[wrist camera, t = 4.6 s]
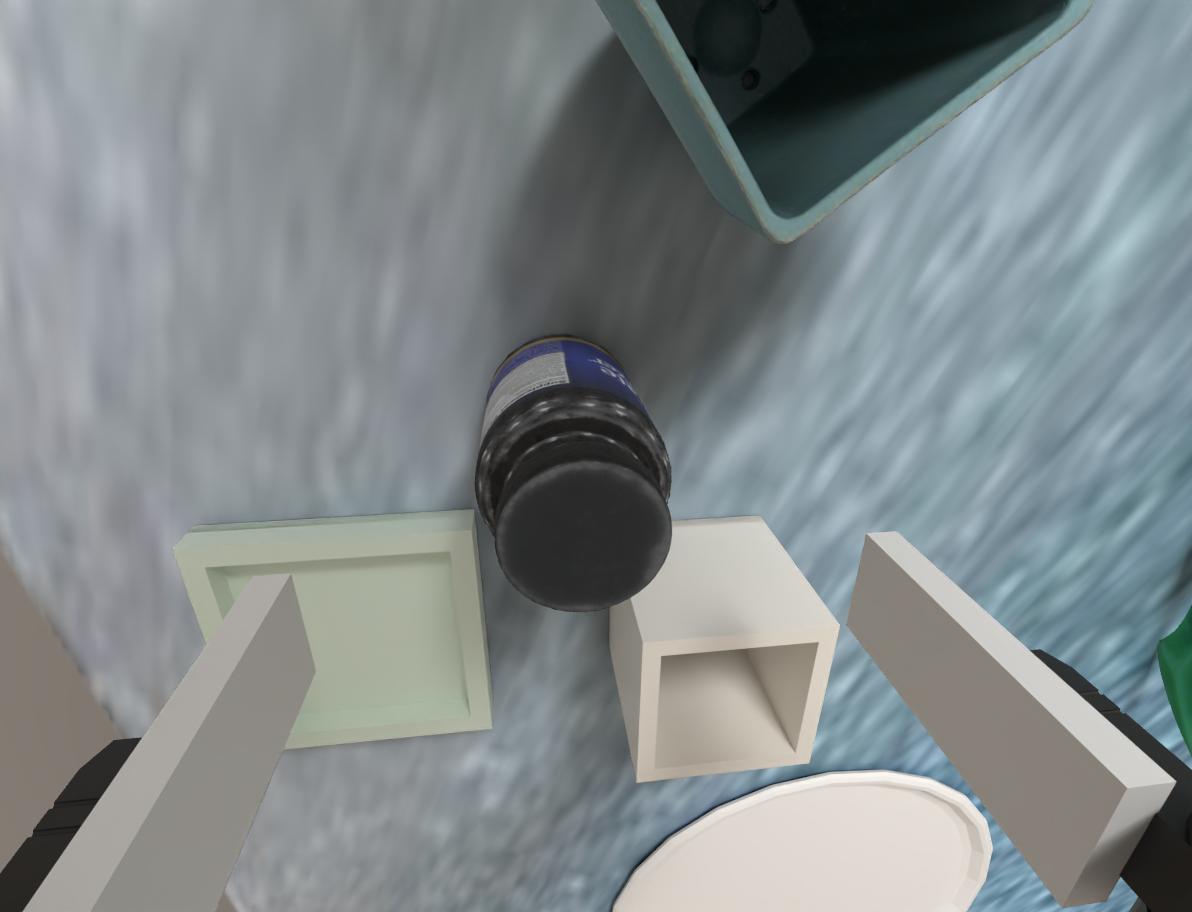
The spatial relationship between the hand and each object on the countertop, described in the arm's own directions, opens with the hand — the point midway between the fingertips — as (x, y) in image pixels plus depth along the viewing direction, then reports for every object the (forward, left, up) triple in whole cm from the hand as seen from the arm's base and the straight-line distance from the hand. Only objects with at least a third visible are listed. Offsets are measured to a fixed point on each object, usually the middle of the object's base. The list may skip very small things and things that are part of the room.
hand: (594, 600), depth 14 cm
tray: (+11, -10, -13) cm, 19 cm away
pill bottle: (0, 0, -13) cm, 13 cm away
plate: (+40, +17, -14) cm, 45 cm away
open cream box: (+10, +6, -13) cm, 17 cm away
